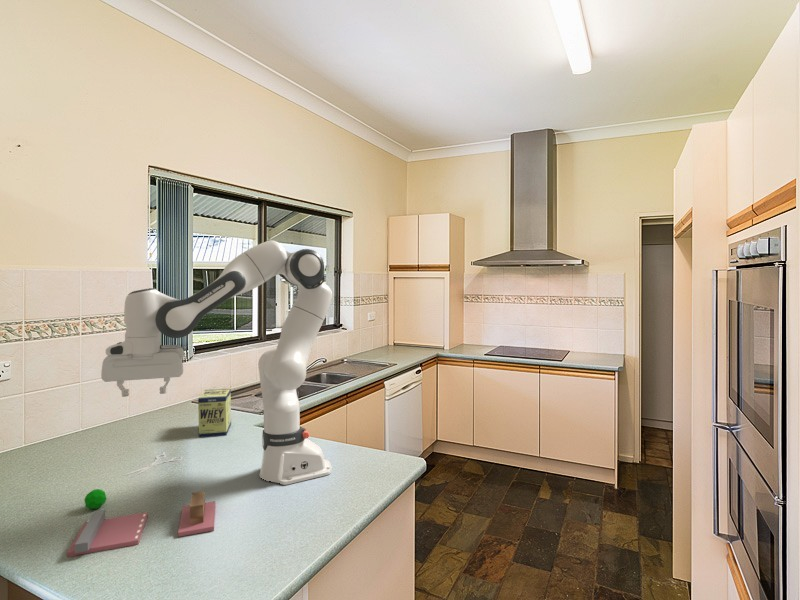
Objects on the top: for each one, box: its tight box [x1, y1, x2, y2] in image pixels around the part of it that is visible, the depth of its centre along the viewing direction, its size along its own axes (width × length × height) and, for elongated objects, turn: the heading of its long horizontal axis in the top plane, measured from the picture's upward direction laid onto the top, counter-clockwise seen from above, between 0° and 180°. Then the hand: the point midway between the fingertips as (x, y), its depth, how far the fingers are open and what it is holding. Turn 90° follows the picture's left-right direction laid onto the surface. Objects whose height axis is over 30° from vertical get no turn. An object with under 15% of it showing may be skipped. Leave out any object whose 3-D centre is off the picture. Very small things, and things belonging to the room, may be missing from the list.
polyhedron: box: [84, 488, 107, 510], centre depth 126 cm, size 5×5×5 cm
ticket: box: [66, 509, 149, 558], centre depth 113 cm, size 14×16×3 cm
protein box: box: [197, 388, 232, 438], centre depth 190 cm, size 10×16×16 cm
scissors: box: [122, 452, 183, 477], centre depth 155 cm, size 11×1×20 cm
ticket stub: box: [177, 490, 216, 538], centre depth 119 cm, size 8×14×6 cm, turn 20°
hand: (144, 394), depth 132 cm, fingers open, 8 cm apart
